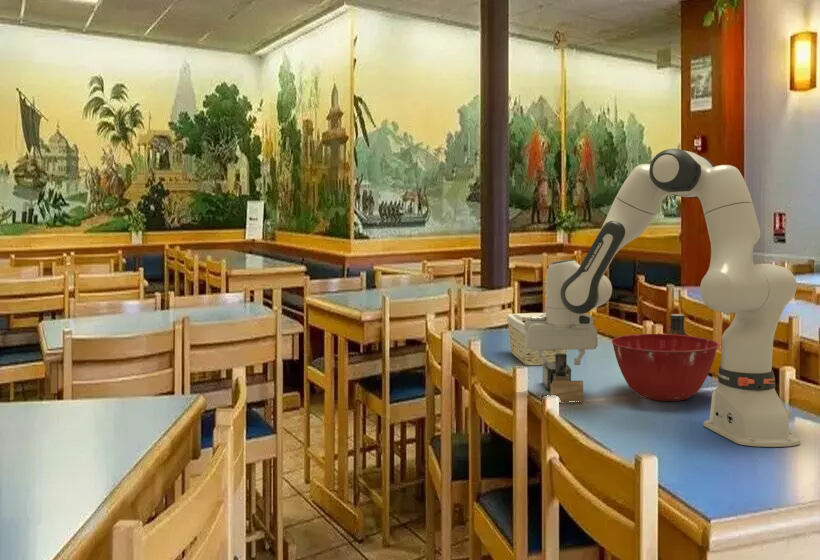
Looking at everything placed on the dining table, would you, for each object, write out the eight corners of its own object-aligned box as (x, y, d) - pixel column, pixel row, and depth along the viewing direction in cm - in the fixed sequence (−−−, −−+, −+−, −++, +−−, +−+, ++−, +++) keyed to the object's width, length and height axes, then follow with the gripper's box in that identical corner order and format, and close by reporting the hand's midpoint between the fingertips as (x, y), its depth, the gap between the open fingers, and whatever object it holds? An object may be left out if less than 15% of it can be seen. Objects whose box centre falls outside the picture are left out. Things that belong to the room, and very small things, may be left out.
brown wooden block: (583, 403, 200) (583, 381, 200) (552, 403, 201) (552, 381, 200) (580, 399, 204) (580, 377, 204) (550, 399, 205) (550, 378, 204)
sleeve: (570, 390, 214) (571, 369, 214) (547, 390, 214) (547, 369, 214) (565, 382, 223) (565, 362, 223) (542, 383, 224) (542, 362, 223)
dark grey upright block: (568, 390, 210) (569, 355, 209) (554, 390, 210) (555, 355, 209) (561, 379, 222) (561, 347, 221) (547, 380, 222) (548, 347, 221)
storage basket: (570, 365, 247) (570, 322, 246) (522, 367, 246) (522, 323, 244) (549, 351, 271) (549, 312, 270) (505, 353, 269) (505, 313, 268)
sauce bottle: (688, 381, 223) (690, 316, 221) (667, 381, 224) (668, 316, 222) (685, 377, 229) (687, 313, 227) (664, 376, 230) (665, 313, 228)
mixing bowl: (590, 388, 216) (591, 336, 215) (671, 379, 226) (672, 329, 224) (652, 413, 190) (653, 354, 188) (741, 402, 199) (742, 345, 198)
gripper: (525, 318, 207) (525, 367, 208) (599, 318, 206) (598, 367, 208) (523, 315, 213) (522, 362, 215) (594, 314, 213) (593, 362, 214)
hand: (560, 364), depth 211 cm, fingers open, 8 cm apart
